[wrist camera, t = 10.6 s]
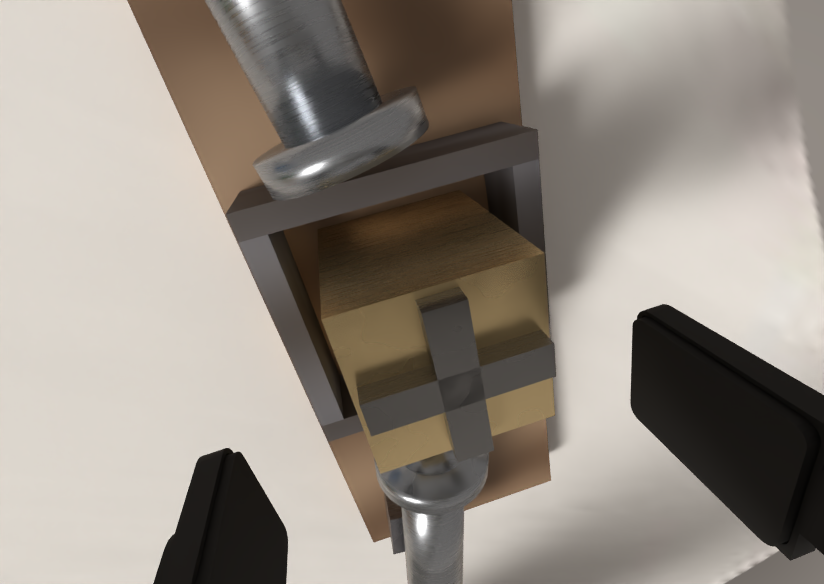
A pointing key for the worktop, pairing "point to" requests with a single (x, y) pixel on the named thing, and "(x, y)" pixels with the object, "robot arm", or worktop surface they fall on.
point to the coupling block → (437, 327)
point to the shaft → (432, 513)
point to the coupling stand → (364, 184)
